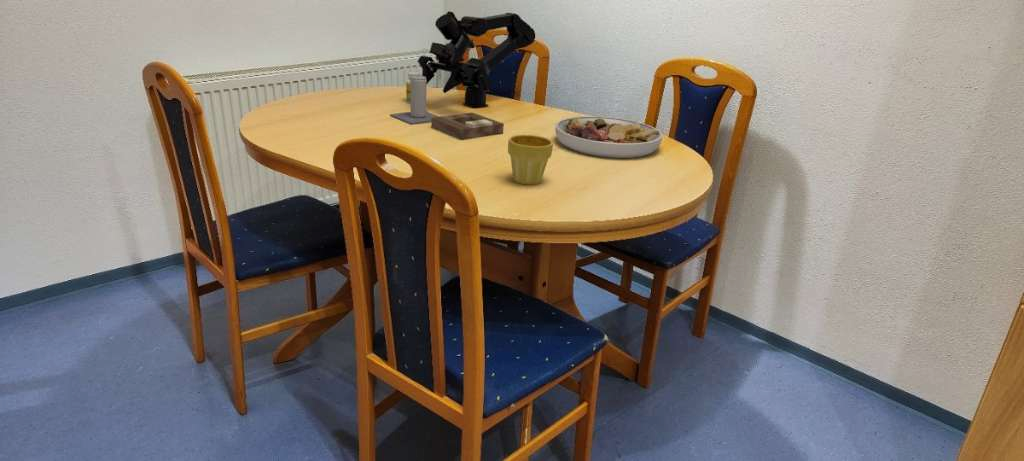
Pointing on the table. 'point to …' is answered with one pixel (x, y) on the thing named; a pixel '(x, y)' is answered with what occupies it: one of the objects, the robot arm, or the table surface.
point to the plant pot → (529, 157)
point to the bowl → (608, 136)
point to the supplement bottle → (408, 90)
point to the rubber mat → (411, 120)
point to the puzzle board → (467, 125)
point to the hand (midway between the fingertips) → (432, 89)
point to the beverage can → (418, 96)
